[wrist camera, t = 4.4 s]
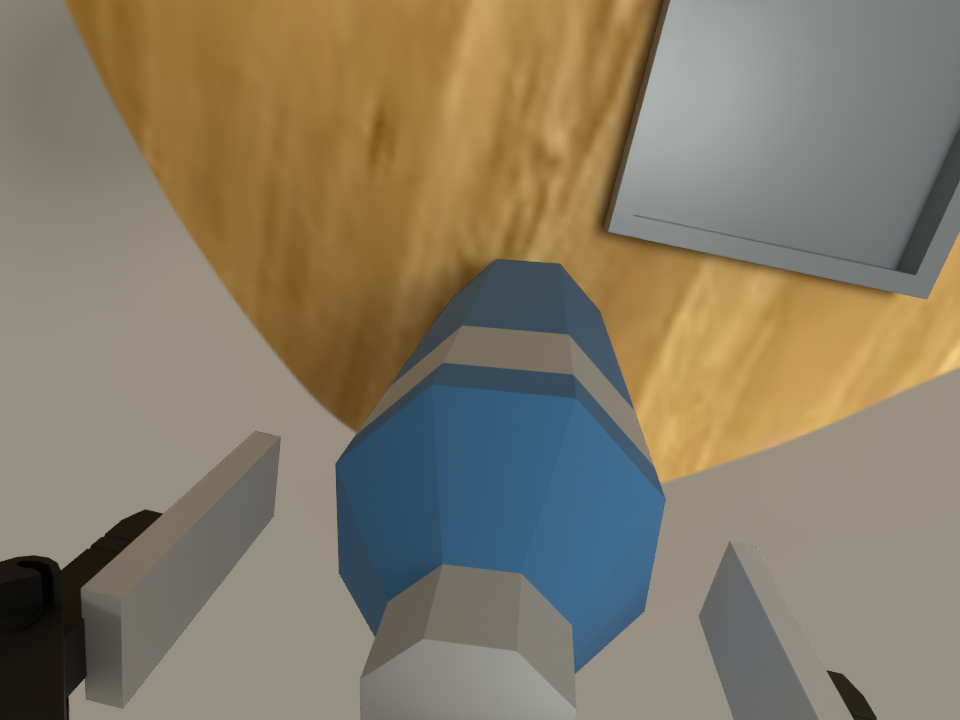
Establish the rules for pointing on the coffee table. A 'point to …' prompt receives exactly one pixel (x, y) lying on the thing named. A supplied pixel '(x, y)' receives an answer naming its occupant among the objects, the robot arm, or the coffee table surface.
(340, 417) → the coffee table surface
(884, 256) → the tray
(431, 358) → the water bottle
